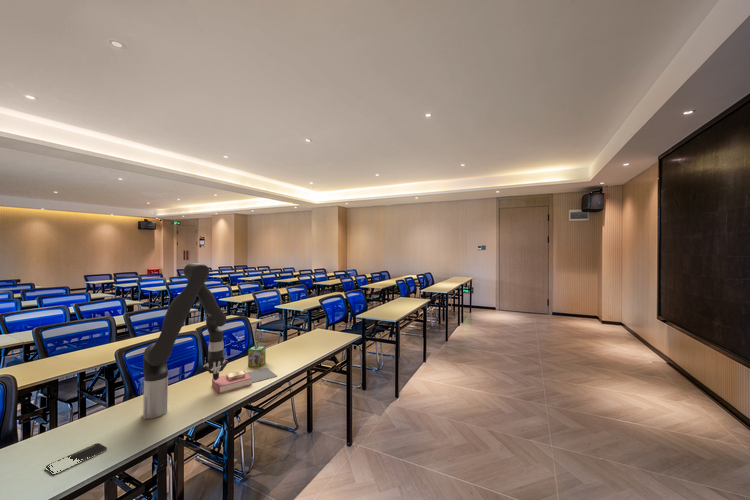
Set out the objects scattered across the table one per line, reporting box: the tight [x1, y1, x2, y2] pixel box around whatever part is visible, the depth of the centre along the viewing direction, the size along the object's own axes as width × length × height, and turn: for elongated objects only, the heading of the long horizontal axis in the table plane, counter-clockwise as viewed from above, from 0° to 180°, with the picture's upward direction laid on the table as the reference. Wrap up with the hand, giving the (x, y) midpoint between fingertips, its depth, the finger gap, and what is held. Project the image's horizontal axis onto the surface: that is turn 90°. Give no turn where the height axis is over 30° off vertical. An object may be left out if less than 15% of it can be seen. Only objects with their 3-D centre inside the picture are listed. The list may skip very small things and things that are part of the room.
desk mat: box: [245, 367, 278, 384], centre depth 188 cm, size 16×18×1 cm
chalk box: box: [247, 342, 267, 368], centre depth 207 cm, size 9×9×15 cm
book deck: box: [211, 370, 253, 395], centre depth 173 cm, size 18×14×4 cm
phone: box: [45, 443, 108, 473], centre depth 110 cm, size 8×1×15 cm
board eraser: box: [225, 370, 245, 381], centre depth 175 cm, size 9×6×2 cm, turn 131°
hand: (215, 379), depth 168 cm, fingers closed
